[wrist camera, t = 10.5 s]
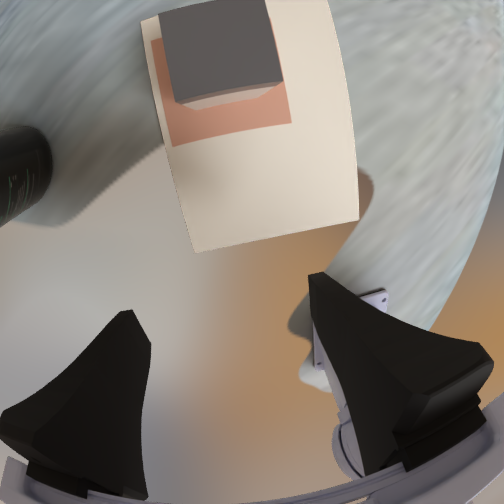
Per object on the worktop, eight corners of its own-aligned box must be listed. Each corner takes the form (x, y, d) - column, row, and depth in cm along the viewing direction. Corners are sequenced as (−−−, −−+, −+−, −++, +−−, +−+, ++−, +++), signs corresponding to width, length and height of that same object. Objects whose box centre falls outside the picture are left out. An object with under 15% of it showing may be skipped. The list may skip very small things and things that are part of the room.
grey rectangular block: (257, 98, 16) (283, 81, 8) (196, 110, 16) (175, 101, 8) (245, 44, 14) (263, -6, 7) (184, 56, 14) (158, 14, 7)
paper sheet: (357, 218, 21) (359, 220, 20) (195, 251, 21) (194, 254, 20) (324, -2, 12) (326, -4, 12) (142, 22, 12) (140, 20, 12)
